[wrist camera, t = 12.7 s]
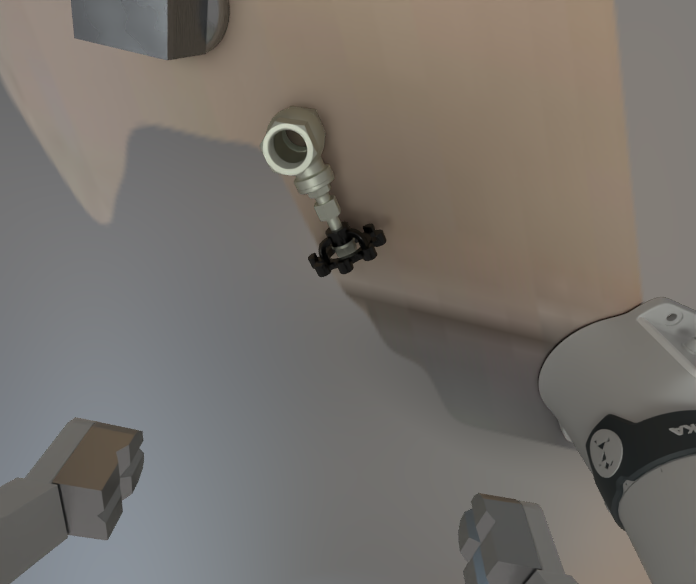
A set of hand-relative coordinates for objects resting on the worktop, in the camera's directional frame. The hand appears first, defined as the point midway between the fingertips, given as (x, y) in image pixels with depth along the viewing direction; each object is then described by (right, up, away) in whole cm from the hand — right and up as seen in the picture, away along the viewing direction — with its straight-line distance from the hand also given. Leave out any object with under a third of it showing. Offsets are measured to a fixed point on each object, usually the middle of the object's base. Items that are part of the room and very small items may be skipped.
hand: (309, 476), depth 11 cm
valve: (-1, +14, +26) cm, 30 cm away
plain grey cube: (-10, +23, +18) cm, 31 cm away
